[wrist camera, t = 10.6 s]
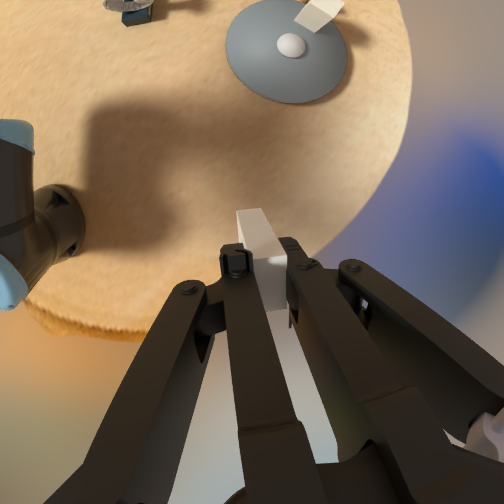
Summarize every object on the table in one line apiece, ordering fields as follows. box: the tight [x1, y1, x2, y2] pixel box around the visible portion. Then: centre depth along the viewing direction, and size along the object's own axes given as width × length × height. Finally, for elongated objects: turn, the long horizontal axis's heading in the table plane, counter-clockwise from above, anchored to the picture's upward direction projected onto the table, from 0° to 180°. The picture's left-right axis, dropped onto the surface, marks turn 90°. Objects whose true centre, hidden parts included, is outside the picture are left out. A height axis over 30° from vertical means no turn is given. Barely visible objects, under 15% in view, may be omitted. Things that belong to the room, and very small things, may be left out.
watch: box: [103, 0, 154, 27], centre depth 23 cm, size 6×8×11 cm
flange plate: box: [225, 0, 347, 103], centre depth 29 cm, size 24×20×9 cm
